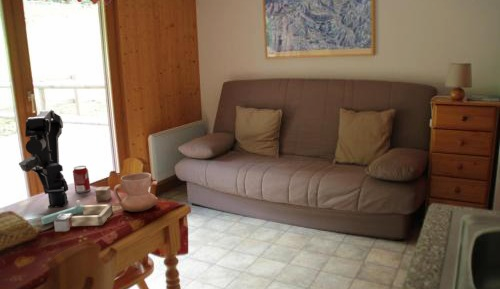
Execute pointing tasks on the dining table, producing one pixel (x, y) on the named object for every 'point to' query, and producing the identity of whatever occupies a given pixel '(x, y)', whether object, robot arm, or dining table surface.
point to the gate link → (73, 210)
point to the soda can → (81, 179)
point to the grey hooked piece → (63, 222)
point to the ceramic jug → (136, 192)
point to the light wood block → (103, 193)
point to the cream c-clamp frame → (91, 220)
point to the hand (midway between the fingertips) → (47, 186)
